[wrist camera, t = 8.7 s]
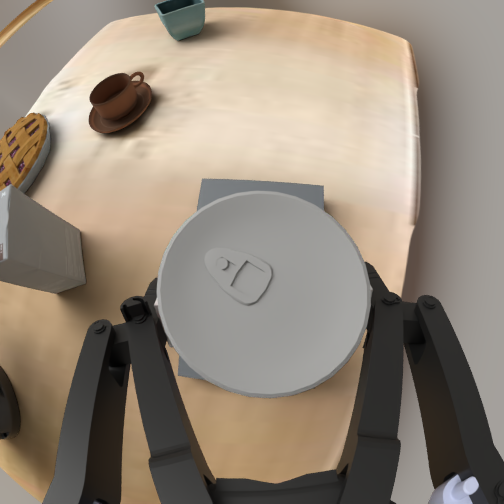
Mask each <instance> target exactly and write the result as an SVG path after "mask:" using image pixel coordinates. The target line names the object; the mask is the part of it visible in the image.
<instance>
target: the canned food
mask: <svg viewBox="0 0 504 504" xmlns="http://www.w3.org/2000/svg"><path fill="white" fill-rule="evenodd" d="M157 300H158V309H159V314H160V317H161V320H162V324H163V327H164V330H165V332H166V334H167V336H168V338H169V340H170V341H171V343H172V345H173V347H174V349H175V350H176V351H177V353H178V354H179V355H180V356H181V357H182V359H183V360H184V361H185V362H186V363H187V364H188V366H189V367H190V368H192V369H193V370H194V371H195V372H197V373H198V374H199V375H200V376H202V377H203V378H204V379H206V380H207V381H209V382H211V383H213V384H215V385H217V386H218V387H220V388H222V389H224V390H227V391H230V392H233V393H237V394H240V395H244V396H248V397H259V398H277V397H284V396H291V395H295V394H298V393H301V392H304V391H307V390H309V389H312V388H314V387H316V386H318V385H319V384H321V383H323V382H324V381H326V380H327V379H329V378H331V377H332V376H333V375H334V374H335V373H336V372H338V371H339V370H340V369H341V368H342V367H343V366H344V365H345V364H346V363H347V362H348V360H349V359H350V358H351V356H352V355H353V353H354V352H355V350H356V349H357V347H358V346H359V344H360V342H361V339H362V337H363V335H364V332H365V330H366V327H367V323H368V318H369V313H370V307H371V293H370V282H369V277H368V273H367V269H366V265H365V263H364V260H363V258H362V256H361V254H360V251H359V249H358V247H357V245H356V244H355V243H354V241H353V240H352V238H351V237H350V235H349V234H348V233H347V231H346V230H345V229H344V228H343V227H342V226H341V225H340V224H339V223H338V222H337V221H336V220H335V219H334V218H333V217H332V216H331V215H329V214H328V213H326V212H325V211H323V210H322V209H320V208H319V207H317V206H316V205H314V204H312V203H310V202H307V201H305V200H303V199H301V198H298V197H296V196H292V195H288V194H284V193H280V192H272V191H249V192H241V193H235V194H232V195H229V196H226V197H223V198H219V199H217V200H215V201H213V202H211V203H210V204H208V205H206V206H204V207H202V208H201V209H199V210H198V211H197V212H196V213H194V214H193V215H192V216H191V217H189V218H188V219H187V220H186V221H185V222H184V223H183V224H182V226H181V227H180V228H179V229H178V230H177V232H176V233H175V234H174V235H173V237H172V239H171V241H170V243H169V245H168V246H167V248H166V250H165V252H164V255H163V258H162V261H161V265H160V268H159V272H158V282H157Z"/></svg>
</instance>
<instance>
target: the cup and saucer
mask: <svg viewBox="0 0 504 504" xmlns="http://www.w3.org/2000/svg"><path fill="white" fill-rule="evenodd" d="M137 75H139V76H140V77H141V79H140V81H131V80H132V79H133V78H134V77H135V76H137ZM143 80H144V75H143V73H142V72H135V73H133V74H132V75H131V76H130V77H129V75H127V74H125V73H118V74H114V75H112V76H109V77H107V78H106V79H104V80H103V81H101V82H100V83H99V84H98V85H97V86H96V87H95V88H94V89H93V91H92V92H91V94H90V102H91V104H92V105H93V108H92V110H91V112H90V115H89V125H90V127H91V128H92V129H93V130H95V131H97V132H100V133H109V132H114V131H117V130H120V129H122V128H124V127H126V126H128V125H129V124H131V123H132V122H134V121H135V120H136V119H137V118H139V117H140V116H141V115H142V113H143V112H144V111H145V110H146V108H147V107H148V105H149V103H150V101H151V97H152V91H151V88H150V86H149V85H148V84H147V83H145V82H143Z"/></svg>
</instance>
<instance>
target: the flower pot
mask: <svg viewBox="0 0 504 504" xmlns="http://www.w3.org/2000/svg"><path fill="white" fill-rule="evenodd" d="M154 6H155V8H156V11H157V13H158V15H159V17H160V19H161V21H162V23H163V24H164V26H165V27H166V29H167V31H168V32H169V34H170V35H171V36H172V37H173V38H174V39H176V40H177V41H179V40H182V39H184V38H187V37H190V36H193V35H197V34H199V33H200V31H201V30H202V28H203V26H204V22H205V2H204V1H203V0H167V1H164V2H161V3H158V4H156V5H154Z"/></svg>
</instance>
